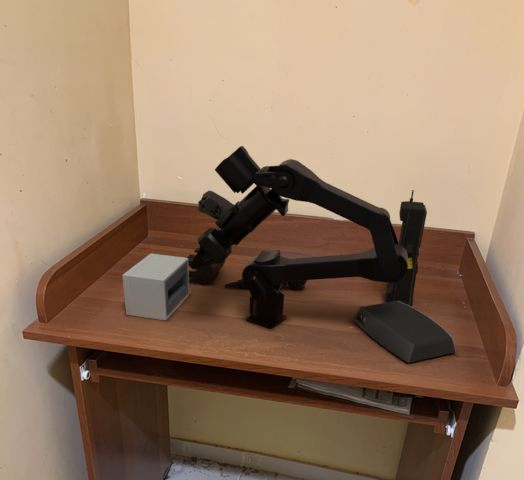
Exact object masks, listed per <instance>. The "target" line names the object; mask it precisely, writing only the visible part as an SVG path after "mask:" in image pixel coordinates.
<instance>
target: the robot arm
mask: <svg viewBox="0 0 524 480" xmlns="http://www.w3.org/2000/svg"><path fill="white" fill-rule="evenodd" d="M214 171H215V172H216V174H217V175H218V176H219V177H220V179H222V181H223V182H224V183H225V184H226V185H227V186H228V188H229V189H230V190H231V191H232V192H233V193H234V194H235V193H236V194H239V193H241V194H242V195H243V194H245V193H246V192H247V191H248V190H249V189H250V188H251V187H252V186H253V185H255V186H254V187H253V188H252V189H251V191H249V192H248V193H247V194H246V195H244V197H243V198H242V199H240V200H237V202H236V203H232V202H231V201H229V200H228V199H227V198H225V197H224V196H222V195H220V194H218V193H217V192H215V191H213V190H206V192H204V193H203V194H202V197H201V198H200V199H199V200H198V202H197V204H198V205H197V210H198V211H199V212H200V213H202V214H203V213H204V214H205V215H207V216H209V217H211V218H212V219H214V220H216V221H215V222H214V224H215V225H216V226H217V227H218V229H217V228H214V227H209V228H207V229H206V230H205V231H204V232H203V233H202V234H201V235H200V236H199V237H198V238H196V239H197V243H198V245H199V248H200V249H199V251H198V252H197V253H195V255H196V256H195V257H194V259H193V260H192V262H191V263H190V265H189V266H188V267H190V268H191V269H192V270H196V268H200V267H203V266H207V265H211V264H216V263H217V264H220V263H222V262H223V261H224V260H225V261H226V259H227V258H228V257H229V256H230V255H231V254H232V251H233V250H232V249H233V246H234V245H235V246H238V245H239V244H241V242H242V241H243V240H244V239H246V237H247V236H248V235H250V234H251V233H253V232H254V231H255V230H256V228H257V227H258V226H260V225H261V224H262V223H263V222H264V221H265V220H266V219H267V218H268V217H270V216H271V215H272V214H273V213H274V212H275V211H277V212H278V213H279V214H280V216H281V217H285V216H286V214H287V213H288V212H289V204H290V203H289V202H290V200H292V201H297V202H303V203H310V204H313V205H315V206H318V207H320V208H322V209H325V210H326V211H328V212H330V213H333V214H335V215H337V216H338V217H341V218H343V219H346V220H348V221H350V222H352V223H354V224H355V225H359V226H360V227H363V228H365V229H367V230H368V231H369V232H370V236H371V239H372V244H373V247H372V248H369V249H367V250H364V251H362V252H358V253H349V254H347V253H346V254H334V255H321V256H310V257H296V258H287V257H284V256H281V250H280V249H275V250H272V251H271V250H270V251H266V250H261V251H260V252H259V254H255V255H254V256H252V258H251V259H250V260H249V262H248V263H247V265H246V266H245V267H244V269H242V274H241V279H243V282H244V283H245V285H246V286H247V287H248V288H247V289H248V291H249V294H250V297H249V306H248V307H249V308H248V314H249V315H248V316H247V317H246V318H245V320H246V322H250V323H253V324H256V325H259V326H261V327H264V328H267V329H273V328H274V327H276V326H277V325H279V324H280V323H283V322H284V321H285V320H287V317H288V315H286V314H284V306H285V305H284V304H285V294H284V293H282V291H281V290H282V288H283V287H284V286H283V285H284V283H286V282H289V281H302V280H307V281H314V280H316V281H317V280H330V279H331V280H332V279H345V278H346V279H347V278H362V279H366V280H369V281H373V282H377V283H378V282H379V283H386V284H387V283H395V282H398V281H400V280H401V279H402V278H403V277H404V276H405V275H406V273H407V270H408V255H407V251H406V250H405V248H404V247H402V246H401V245H400V244H399V239H398V236H397V233H396V231H395V228H394V225H393V223H392V221H391V215H390V212H389V211H388V210H387V209H386V208H384V207H381V206H380V207H379V206H377V205H374V204H373V203H370V202H368V201H366V200H363V199H361V198H360V197H358V196H355V195H353V194H352V193H349V192H347V191H345V190H342V189H341V188H338V187H336V186H334V185H332V184H330V183H328V182H326V181H324V180H323V179H321V178H320V177H319V176H318V175H317V174H316V173H315V172H314V171H313V170H312V169H310V168H308V167H307V166H306V165H305V164H303V163H302V162H301V161H299V160H297V159H293V158H289V159H286V160H284V161H282V162H280V164H278V165H265V166H262V167H260V165H258V163H256V161H255V160H254V159H253V157H251V155H250V153H249V152H248V150H247V149H246V148H245V146H243V145H241V146H238V148H237V149H235V150H234V151H233V152H232V153H231V154H230V155H228V157H225V158H224V159H223V160H222V161H220V163H219V164H218V165H217V166H216V168H214Z"/></svg>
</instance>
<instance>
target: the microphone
mask: <svg viewBox="0 0 524 480" xmlns="http://www.w3.org/2000/svg"><path fill="white" fill-rule="evenodd" d="M307 282H308V280H302V281H289V282H286V283H284V285H283V287H286V286H288V287H290V288H293V289H294V290H295V291H296V290H299V289H300V288H303V287H304V286H305V285H306V284H307ZM224 288H237V289H249V288H248V287H247V286H246V285H245V283H244V282H243V279H242V278H240V279H237V280H236V281H231V282H228V283H225V284H224Z"/></svg>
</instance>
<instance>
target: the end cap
mask: <svg viewBox="0 0 524 480" xmlns="http://www.w3.org/2000/svg"><path fill="white" fill-rule="evenodd" d="M199 249H200V247H197V248H195V249H194V251H193V253H195V254H189V255H187V256H186V258H188V267H190V266H189V265H190V263H191V262H192V260H193V259H194V257H195V256H196V254H197V252H198V251H199ZM225 263H226V259H225V260H224V261H223V262H222V263H220V264H217V263H216V264H211V265H207V266H203V267H200V268H196V269H195V270H189V284H197V285H206V284H207V283H208V282H210V281H211V280H212V279H213V277H215V276H216V275H217V273H218V272H219V271H220V270H221V269H222V268H223V266H225Z"/></svg>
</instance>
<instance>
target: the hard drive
mask: <svg viewBox="0 0 524 480" xmlns="http://www.w3.org/2000/svg"><path fill="white" fill-rule="evenodd" d="M352 321H353V322H354V323H355V324H356V325H357V326H358V327H359V328H360V329H362V330H363V331H364V332H365V333H366V334H367V335H368V336H369V337H371V338H372V339H373V340H374V341H376V342H377V343H379V344H380V345H381V346H383V347H384V348H385V349H386V350H388V351H389V352H390V353H392V354H393V355H395V356H396V357H398V358H400V359H401V360H403V361H404V362H406V363H414V362H418V361H422V360H427V359H432V358H437V357H440V356H445V355H449V354H454V353H456V352H457V348H456V347H457V346H456V342H455V340H454V337H453V335H452V334H451V333H450V332H449V331H448V330H447V329H446V328H445V327H443V326H442V325H441V324H439V323H438V322H437V321H436V320H435V319H433V318H432V317H430V316H428V315H427V314H425V313H423V312H422V311H420V310H418V309H416V308H415V307H413V306H409V305H407V304H405V303H402V302H400V301H394V302H388V303H385V302H382V303H377V304H370V305H364V306H359V308H358V309H357V310H356V312H355V314H354V315H353V317H352Z"/></svg>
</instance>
